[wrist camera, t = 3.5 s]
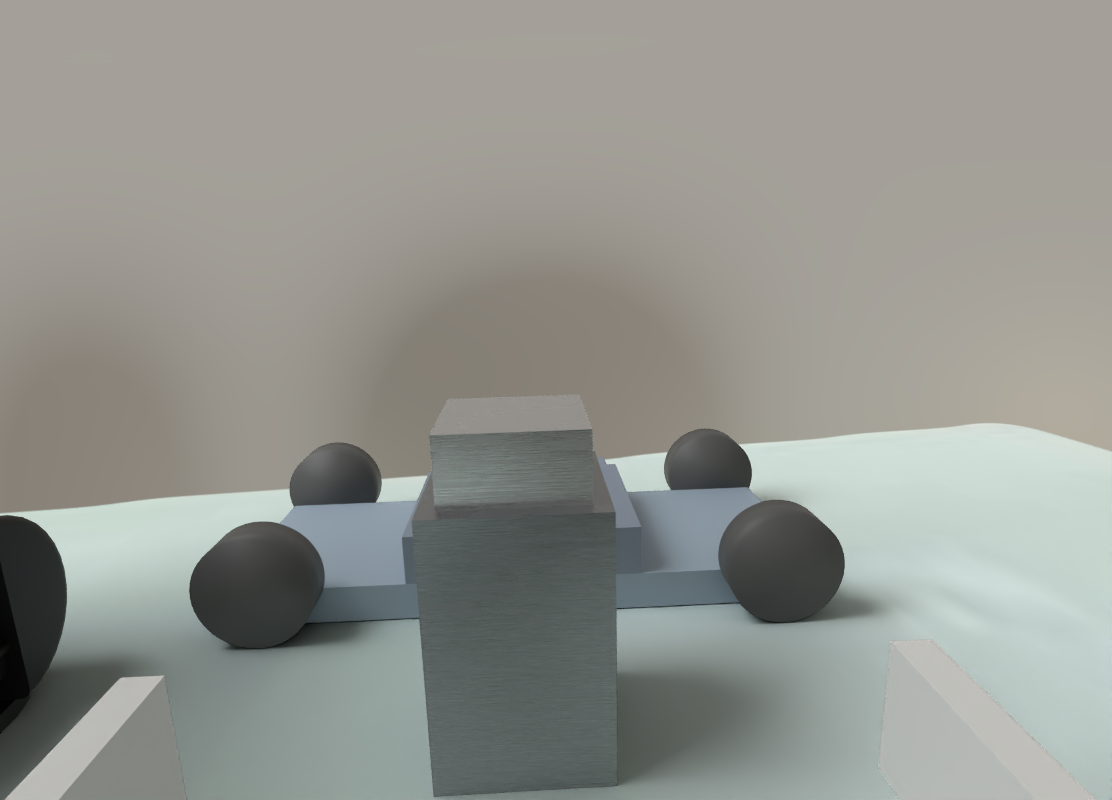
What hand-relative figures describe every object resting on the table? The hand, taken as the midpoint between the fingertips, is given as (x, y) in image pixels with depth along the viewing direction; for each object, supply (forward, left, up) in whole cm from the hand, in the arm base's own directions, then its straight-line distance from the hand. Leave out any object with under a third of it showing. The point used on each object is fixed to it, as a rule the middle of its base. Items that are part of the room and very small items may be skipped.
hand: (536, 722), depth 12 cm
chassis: (0, +18, -6) cm, 19 cm away
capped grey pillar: (0, +7, -6) cm, 9 cm away
